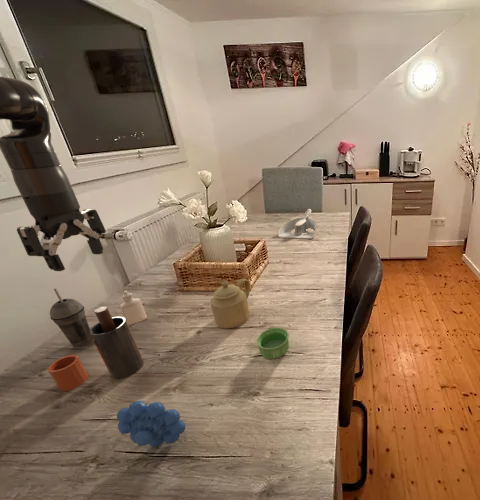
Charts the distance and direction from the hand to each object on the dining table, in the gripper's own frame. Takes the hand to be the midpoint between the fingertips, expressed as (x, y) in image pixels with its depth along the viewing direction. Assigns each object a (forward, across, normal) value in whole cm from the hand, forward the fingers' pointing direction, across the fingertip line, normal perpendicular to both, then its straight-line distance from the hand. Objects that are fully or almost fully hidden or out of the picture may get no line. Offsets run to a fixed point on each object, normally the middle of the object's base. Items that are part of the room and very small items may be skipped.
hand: (79, 261), depth 63 cm
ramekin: (+33, -12, +37) cm, 51 cm away
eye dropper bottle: (+33, -19, -15) cm, 41 cm away
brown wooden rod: (+32, 0, 0) cm, 32 cm away
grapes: (+33, +18, +24) cm, 44 cm away
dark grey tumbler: (+33, 0, 0) cm, 33 cm away
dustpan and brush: (+33, -116, +14) cm, 122 cm away
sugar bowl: (+33, -26, +16) cm, 45 cm away
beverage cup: (+33, -7, -23) cm, 41 cm away
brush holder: (+33, +6, -10) cm, 35 cm away
